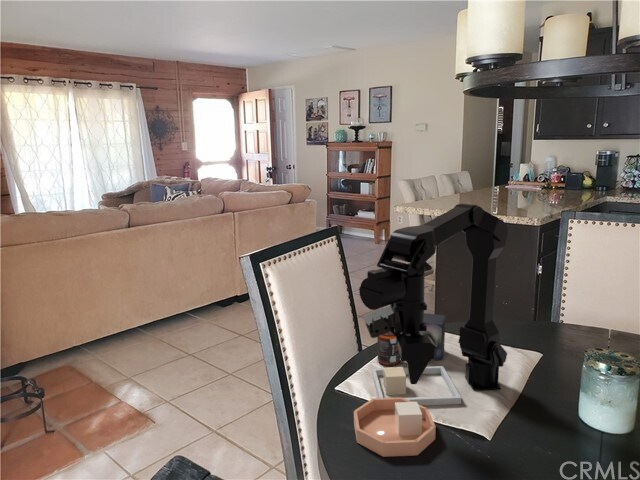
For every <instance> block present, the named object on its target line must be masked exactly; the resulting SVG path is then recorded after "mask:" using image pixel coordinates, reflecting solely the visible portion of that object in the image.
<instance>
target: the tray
mask: <svg viewBox="0 0 640 480" xmlns="http://www.w3.org/2000/svg"><path fill="white" fill-rule="evenodd" d="M383 368H384V367H383ZM383 368H382V367H381V368H372V369H371V376H372V379H373V383H374V388H375V391H376V396H377V398H384V395H383V392H382V387H381V384H380V382H379V378H378V377H379V376H382V377H383ZM403 370H404V372H405V375H406V376H407V375H408V376H409V374H408V368H407V367H403ZM431 374H433V375H435V374H436V375H437V374H438V375H439V374H440V375H441V378H442V380H443V381H444V383H445V385H446V386H447V388H448V391H449V392H450V394H451V395H447V396H445V395H444V396H425V397H424V396H423V397H422V396H419V397H404V398H405V399H407V400H409V401H412V402H417V403H418V404H419V405H421V406H441V405H442V406H444V405H461V404H462V396H461V395H460V393H459V391H458V390H457V388H456V386H455V385H454V383H453V381H452V380H451V378H450V376H449V374H448V373H447V371H446V369H445V367H444V365H441V366H439V365H436V366H426V368H425V370H424V371H423V373H422V375H431Z"/></svg>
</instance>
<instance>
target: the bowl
mask: <svg viewBox="0 0 640 480" xmlns="http://www.w3.org/2000/svg"><path fill="white" fill-rule="evenodd" d="M405 398H406V397H383V398H378V397H377V398H371V399H370V400H368V401H367V402H365V403H363V404H362V405H361V406H359V407H357V408H356V409H355V410H353V427H354V431H355V439H356V443H358V445H359V444H360V446H363V447H364V448H367V449H368V450H370V451H372V452H373V453H376V454H378V455H379V456H382V457H383V458H385V457H409V456H418V455H419V454H421V453H422V452H423V451H424V450H425V449H427V447H429V446H430V445H431V444H432V443H433V442H434V441H435V440H436V428H437V427H436V424H435V422H434V419H433V417H432V415H431V413H430V410H429V408H428V407H427V406H426V407H425V405H422V406H421V405H419V404H418V405H419V408H420V411H421V413H422V435H409V436H399V435H398V432H397V428H396V425H395V402H412V401H409V400H407V399H405Z"/></svg>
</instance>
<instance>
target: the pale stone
mask: <svg viewBox="0 0 640 480" xmlns="http://www.w3.org/2000/svg"><path fill="white" fill-rule="evenodd" d="M395 425H396V428H397V432H398V435H399V436H409V435H422V413H421V411H420V408H419V405H418V403H417V402H395Z"/></svg>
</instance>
